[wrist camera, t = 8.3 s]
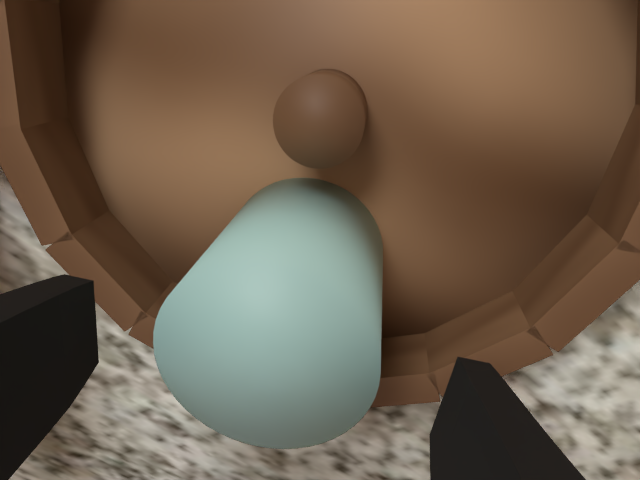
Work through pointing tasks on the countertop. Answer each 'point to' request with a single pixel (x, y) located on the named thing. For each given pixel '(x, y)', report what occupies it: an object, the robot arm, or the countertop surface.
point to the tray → (342, 153)
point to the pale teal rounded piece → (280, 319)
